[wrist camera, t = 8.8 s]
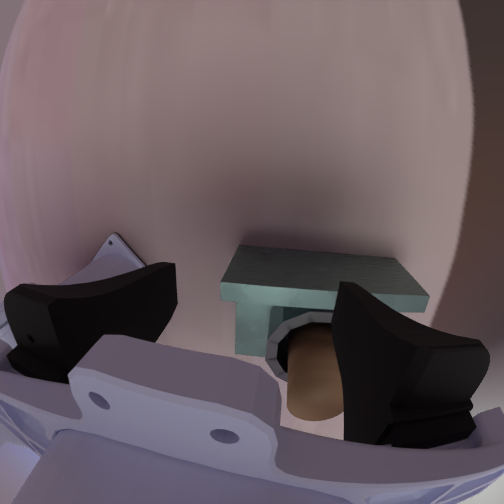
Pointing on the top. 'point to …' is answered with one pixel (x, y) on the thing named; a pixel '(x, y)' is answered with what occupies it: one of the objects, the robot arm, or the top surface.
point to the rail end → (313, 373)
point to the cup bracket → (303, 294)
